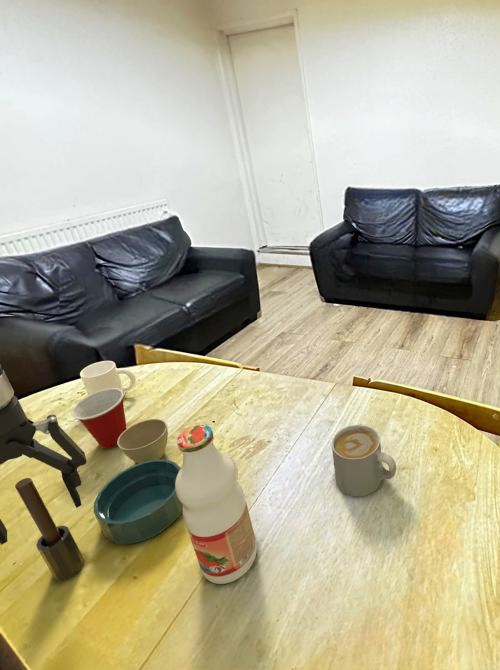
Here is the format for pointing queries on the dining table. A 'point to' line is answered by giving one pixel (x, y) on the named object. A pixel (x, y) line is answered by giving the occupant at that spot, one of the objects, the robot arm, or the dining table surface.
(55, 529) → the stick
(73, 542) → the utensil pot
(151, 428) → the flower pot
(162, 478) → the bowl
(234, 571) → the fruit juice
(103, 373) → the mug
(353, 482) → the coffee mug
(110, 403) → the plastic cup
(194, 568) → the dining table surface
